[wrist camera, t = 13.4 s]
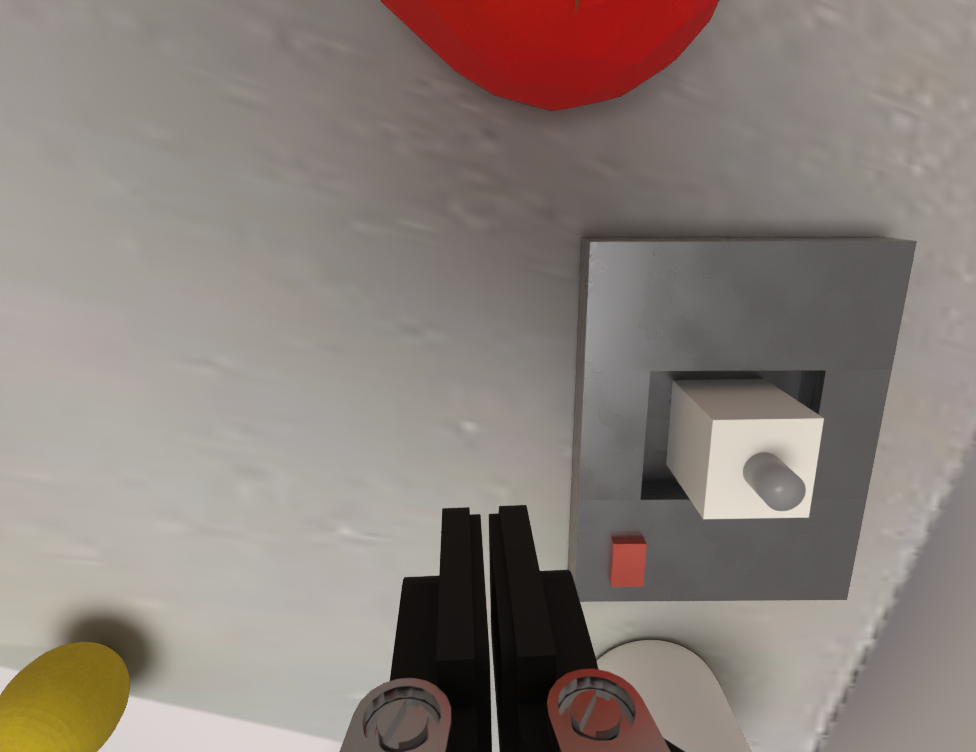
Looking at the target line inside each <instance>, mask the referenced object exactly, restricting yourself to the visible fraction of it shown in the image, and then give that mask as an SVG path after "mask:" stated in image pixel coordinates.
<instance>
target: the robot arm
mask: <svg viewBox="0 0 976 752" xmlns="http://www.w3.org/2000/svg"><path fill="white" fill-rule="evenodd" d="M489 550H490V597H491V635H492V650H493V664H494V678H495V692H496V706H497V720H498V734H499V748H500V752H685V751H683V750H682V749H680V748H679V747H677V746H675V745H674V744H672V743H671V742H669V741H668V740H666V739H664V738H663V736H662V734H661V733H660V731H659V729H658V727H657V725H656V723H655V721H654V719H653V717H652V716H651V714H650V712H649V710H648V708H647V706H646V704H645V702H644V701H643V699H642V697H641V696H640V694H639V693H638V692H637V690H636V689H635V688H634V687H633V686H632V685H631V684H630V683H628V682H627V681H626V680H625V679H623V678H622V677H620V676H617V675H615V674H613V673H611V672H609V671H604V670H599V668H598V665H597V661H596V658H595V654H594V651H593V647H592V643H591V640H590V636H589V633H588V629H587V625H586V622H585V618H584V615H583V611H582V608H581V604H580V600H579V597H578V593H577V590H576V586H575V583H574V579H573V576H572V573H571V571H570V570H555V571H540V570H539V566H538V561H537V556H536V551H535V546H534V541H533V536H532V531H531V526H530V521H529V516H528V511H527V507H526V505H516V506H499V514H489ZM340 752H492V735H491V691H490V658H489V639H488V624H487V609H486V593H485V578H484V563H483V547H482V532H481V517H480V514H475V515H470V511H469V507H468V508H444V509H442V531H441V554H440V576H423V577H404V579H403V584H402V591H401V599H400V607H399V614H398V622H397V630H396V637H395V645H394V653H393V660H392V668H391V676H390V681H389V682H386V683H383V684H382V685H380V686H378V687H377V688H375V689H373V690H371V691H370V692H369V693H368V694H367V695H366V696H365V697H364V698H363V699H362V700H361V701H360V703H359V705H358V707H357V708H356V710H355V712H354V714H353V717H352V719H351V722H350V725H349V728H348V730H347V733H346V736H345V739H344V741H343V744H342V747H341V750H340Z"/></svg>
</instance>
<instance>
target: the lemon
mask: <svg viewBox="0 0 976 752" xmlns="http://www.w3.org/2000/svg"><path fill="white" fill-rule="evenodd" d="M129 690H130V679H129V673H128V669H127V667H126V665H125V663H124V661H123V660H122V658H121V657H120V656H119V655H118V654H117V653H116V652H115V651H113V650H112V649H111V648H109V647H107V646H105V645H102V644H98V643H93V642H77V643H70V644H66V645H62V646H60V647H57V648H55V649H52V650H50V651H48V652H46V653H44V654H43V655H41V656H39V657H38V658H37V659H35V660H34V661H33V662H31V663H30V664H29V665H28V666H26V667H25V668H24V669H23V670H21V671H20V672H19V673H18V674H17V675H16V676H15V677H14V678H13V679H12V680H11V682H10V683H9V684H8V685H7V686H6V688H5V689H4V691H3V692H2V693H1V695H0V752H97V751H98V750H99V749H100V748H101V747H102V746H103V745H104V743H105V742H106V741H107V740H108V738H109V737H110V736H111V734H112V733H113V731H114V730H115V728H116V726H117V724H118V722H119V721H120V718H121V717H122V715H123V713H124V710H125V708H126V705H127V702H128V697H129Z"/></svg>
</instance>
